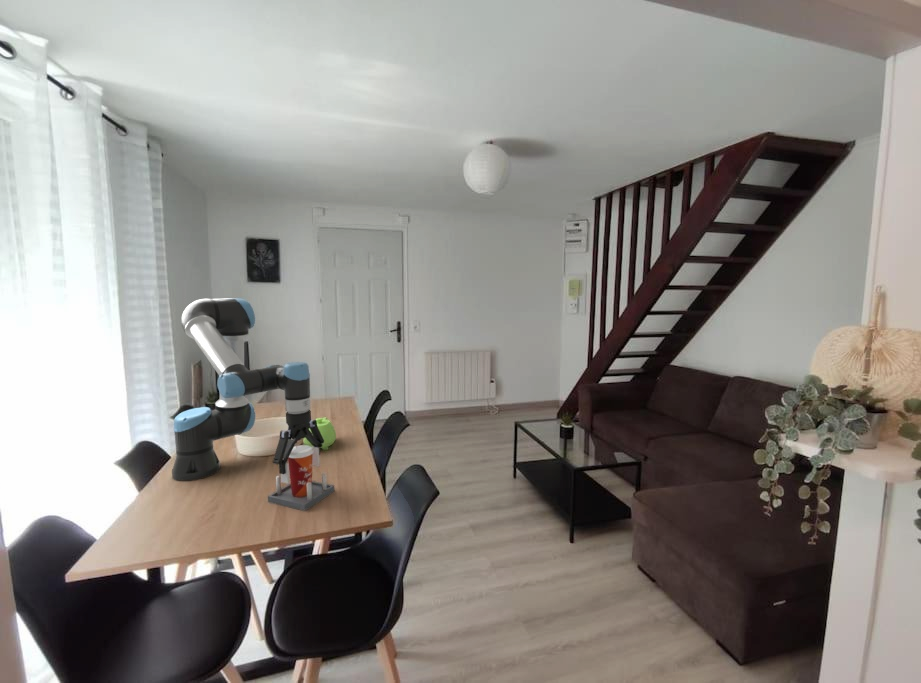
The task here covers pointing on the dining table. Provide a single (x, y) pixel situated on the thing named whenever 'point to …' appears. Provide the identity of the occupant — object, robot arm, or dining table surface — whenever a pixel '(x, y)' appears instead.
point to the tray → (301, 503)
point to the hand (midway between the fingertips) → (301, 474)
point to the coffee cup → (300, 469)
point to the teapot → (324, 433)
